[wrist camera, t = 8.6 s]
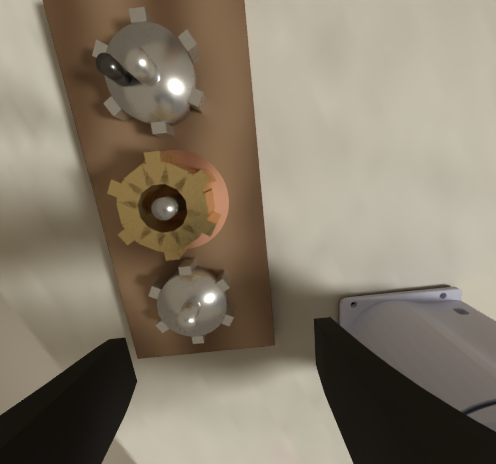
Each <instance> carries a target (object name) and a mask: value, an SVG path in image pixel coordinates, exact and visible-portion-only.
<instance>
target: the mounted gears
mask: <svg viewBox="0 0 496 464" xmlns="http://www.w3.org/2000/svg"><path fill="white" fill-rule="evenodd" d="M129 13H130V18H131V23H132V24H130V25H127V26H125V27H124V28H122V29H121V30H120V31H118V32H117V33H116V34H115V35H114V37H113V38H112V40H111V41H110V43H109V45H106V44H104V43H102V42H100V41H98V40H96V42H95V46H94V50H93V54H92V56H93V57H94V58H96V66H97V69H98V70H99V71H100V72H101V73H102V74H104V75H105V80H106V84H107V87H108V89H109V92H110V93H111V95H112V96H111V97H110V98H109V99H107V100H106V101H105V102H104V103H103V104H104V105H105V106H106V108H107V109H108V110H109V111H110V113H111V114H112V115H113V116H114V117H116V118H119V119H121V120H123V121H126V122H127V121H129V120H130V119H131V118H132V117H134V118H136V119H138V120H140V121H142V122H144V123H146V124H149V125H151V128H152V133H153V135H156V136H158V137H161V138H167V137H174V131H173V125H176V124H178V123H180V122H181V121H183V120H184V119H185V118H186V117H187V116H188V115H189V114H190V113H191V111H192V110H193V109H194V110H196V111H198V112H201V113H203V112H204V109H205V106H206V103H207V101H208V100H207V98H206V96H205V94H204V92H202V91H200V90H198V87H199V86H198V77H197V73H196V70H195V67H194V65H193V64H195V63H196V62H197V61H198V60H200V59H201V58H202V56H201V54H200V51H199V48H198V46H197V43H196V42H195V40H194V39H193V37H192V36H191V34H190V33H189V31H188V30H187V29H186V30H185V31H184V32H183V33H182V34H181V35H179V36H178V38H179V39H178V38H177V37H176V36H175V35H174V34H173V33H172V32H171V31H170V30H168V29H166V28H165V27H163V26H161V25H158V24H155V23H154V22H153V20H152V19H151V17H150V15H149V14H148V12H147V10H146V9H145V7H139V8H130V9H129ZM192 62H193V63H192ZM186 208H187V206H186V200H185V199H184V198H183V196H182V195H181V194H180V193H175V194H172V195H168V196H165V197H162V198H159V199H156V200H155V201H154V202H153V204H152V207H151V209H152V213H153V215H154V216H155V217H156V218H157V219H159V220H168V219H170V218H172V217H173V216H175V215H176V214H178V213H180V212H181V211H183V210H185V209H186ZM178 269H179V270H178V271H176V272H175V273H174V274H173V275H172V276H171V277H170V278H169V279H165V278H163V277H159V278H158V279H157V281H156V282H155V283H154V284H153V286H152V287H151V290H150V293H149V295H148V296H149V297H152V298H155V299H157V298H158V299H157V310H158V313H159V316H160V318H159V319H158V321H157V323H156V324H155V326H156V327H157V328H158V329H159V330H160V331H161V332H162V333H164V332H165V331H167V330H168V329H169V328H170V329H171V330H172V331H174V332H176V333H178V334H181V335H184V336H192V342H193V344H199V343H204V341H205V337H206V334H208V333H210V332H212V331H214V330H215V329H216V328H217V327H218V326H219V325H220V324H221V323H222V324H224V325H227V326H230V324H231V322H232V320H233V318H234V310H235V305H233V304H230V303H227V301H228V292H227V289H229V288H230V284H231V277H230V276H229V275H228V273H227V272H226V271H225V270H223V271H222V272H221V273H219V274H218V275H217V274H216V273H215V272H213V271H212V270H210V269H207V268H204V267H200V266H196V260H195V258H189V259H184V260H183V261H182V263H181V264H180V266H179V267H178ZM167 280H168V281H167Z"/></svg>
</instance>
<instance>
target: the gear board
mask: <svg viewBox="0 0 496 464" xmlns="http://www.w3.org/2000/svg"><path fill="white" fill-rule="evenodd" d="M43 4H44V7H45V11H46V15H47V19H48V23H49V26H50V30H51V34H52V38H53V41H54V45H55V49H56V53H57V56H58V60H59V64H60V68H61V71H62V75H63V79H64V83H65V87H66V90H67V94H68V98H69V102H70V105H71V109H72V113H73V117H74V120H75V124H76V128H77V132H78V135H79V139H80V143H81V147H82V151H83V154H84V158H85V162H86V166H87V169H88V173H89V177H90V181H91V184H92V188H93V192H94V196H95V199H96V203H97V207H98V211H99V215H100V218H101V222H102V226H103V230H104V233H105V237H106V241H107V245H108V248H109V252H110V256H111V260H112V263H113V267H114V271H115V275H116V279H117V282H118V286H119V290H120V294H121V297H122V301H123V305H124V309H125V312H126V316H127V320H128V324H129V327H130V331H131V335H132V339H133V343H134V346H135V350H136V354H137V358H138V359H140V358H150V357H160V356H170V355H180V354H191V353H201V352H211V351H221V350H231V349H241V348H252V347H262V346H272V345H275V339H274V328H273V317H272V306H271V294H270V283H269V272H268V261H267V250H266V238H265V227H264V216H263V205H262V193H261V182H260V171H259V160H258V149H257V137H256V126H255V115H254V104H253V92H252V81H251V70H250V59H249V48H248V36H247V25H246V14H245V3H244V0H43ZM139 7H145V9H146V10H147V12H148V14H149V15H150V17H151V19H152V20H153V22H154V23H155V24H158V25H161V26H163V27H165V28H166V29H168V30H170V31H171V32H172V33H173V34H174V35H175V36H176V37H177V38H178V36H179V35H181V34H182V33H183V32H184V31H185V30H186V29H187V30H188V31H189V33H190V34H191V36H192V37H193V39H194V40H195V42H196V43H197V46H198V48H199V51H200V54H201V56H202V58H201V59H200V60H198V61H197V62H196V63H195V64H193V65H194V67H195V70H196V73H197V77H198V86H199V87H198V90H200V91H202V92H204V94H205V96H206V98H207V100H208V101H207V103H206V106H205V109H204V112H203V113H201V112H198V111H196V110H194V109H193V110H192V111H191V113H190V114H189V115H188V116H187V117H186V118H185V119H184V120H183V121H181V122H180V123H178V124H176V125H173V131H174V137H167V138H161V137H158V136H156V135H153V133H152V128H151V125H149V124H146V123H144V122H142V121H140V120H138V119H136V118H134V117H132V118H131V119H130V120H129V121H127V122H126V121H123V120H121V119H119V118H116V117H114V116H113V115H112V114H111V113H110V111H109V110H108V109H107V108H106V106H105V105H104V104H103V103H104V102H105V101H106V100H107V99H109V98H110V97H111V96H112V95H111V93H110V92H109V89H108V87H107V84H106V80H105V75H104V74H102V73H101V72H100V71H99V70H98V69H97V66H96V58H94V57H93V56H92V54H93V50H94V46H95V42H96V40H98V41H100V42H102V43H104V44H106V45H109V43H110V41H111V40H112V38H113V37H114V35H115V34H116V33H117V32H118V31H120V30H121V29H122V28H124V27H125V26H127V25H130V24H132V23H131V18H130V13H129V9H130V8H139ZM178 39H179V38H178ZM192 63H193V62H192ZM154 151H162V152H166V153H170V154H173V155H176V158H177V163H178V164H183V165H185V166H188V167H190V168H192V169H194V170H196V171H200V170H210V172H211V173H212V175H213V176H214V177H215V179H216V180H217V181H216V182H214V183H213V184H212V185H210V186H211V187H212V188H211V189H213V195H214V202H215V210H214V211H215V212H217V213H219V214H221V217H220V219H219V222H218V224H217V226H216V228H215V230H214V232H213V234H212V236H211V237H210V236H208V235H205V234H203V233H202V234H201V236H200V237H199V238H198V239H196V240H195V241H194V242H192V243H191V245H190V246H189V248H188V249H187V250H186V252H185V253H184V254H183V256H182V257H181V258H180V259H178V260H168V261H166V259H165V254H164V252H160V251H159V252H158V251H156V250H153V249H151V248H148V247H146V246H143V245H141V244H139V242H138V243H137V242H136V241H134V242H132V243H131V244H129V245H128V246H127V244H126V243H125V242H124V241H123V240H122V239H121V238H120V237H119V236H118V235H117V234H119V233H120V232H121V231H122V230H124V229H125V228H124V227H123V225H124V224H121V220H120V216H119V212H118V208H117V204H116V203H117V201H116V200H117V197H114V196H112V195H110V194H107V192H108V189H109V185H110V182H111V179H124V178H125V177H126V176H128V175H129V174H130V173H131V172H133V171H134V170H135V169H136V168H137V167H139V166H140V165H142V164H146V162H145V157H144V153H145V152H154ZM175 193H180V192H179V191H178V190H177V189H175V188H173V187H170V186H168V185H166V186H165V187H163V188H162V189H161V191H160V194H159V197H158V199H159V198H162V197H165V196H168V195H172V194H175ZM187 213H188V212H187V208H186V209H185V210H183V211H181V212H180V213H178V214H176V215H175V216H173V217H172V218H170V219H171V220H173V221H176V222H179V221H185V218H186V216H187ZM189 258H195V260H196V266H200V267H204V268H207V269H210V270H212V271H213V272H215V273H216V274H217V275H218V274H219V273H221V272H222V271H223V270H225V271H226V272H227V273H228V275H229V276H230V277H231V284H230V288H229V289H227V292H228V301H227V303H230V304H233V305H235V310H234V318H233V320H232V322H231V324H230V326H227V325H224V324H222V323H221V324H220V325H219V326H218V327H217V328H216V329H215V330H214V331H212V332H210V333H208V334H206V337H205V341H204V343H199V344H193V342H192V336H184V335H181V334H178V333H176V332H174V331H172V330H171V329H170V328H169V329H168V330H167V331H165V332H164V333H162V332H161V331H160V330H159V329H158V328H157V327H156V326H155V324H156V323H157V321H158V319H159V318H160V316H159V313H158V310H157V299H158V298H157V299H155V298H152V297H149V296H148V295H149V293H150V290H151V287H152V286H153V284H154V283H155V282H156V281H157V279H158V278H159V277H163V278H165V279H169V278H170V277H171V276H172V275H173V274H174V273H175V272H176V271H178V270H179V269H178V267H179V266H180V264H181V263H182V261H183V260H184V259H189ZM167 281H168V280H167Z"/></svg>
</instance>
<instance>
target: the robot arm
mask: <svg viewBox="0 0 496 464" xmlns="http://www.w3.org/2000/svg"><path fill="white" fill-rule="evenodd" d="M441 294H442V295H441ZM440 295H441V296H440ZM461 296H462V291H461V290H460V289H458V288H456V287H445V288H435V289H425V290H415V291H405V292H395V293H385V294H376V295H366V296H356V297H346V298H343V299H341V301H340V303H339V310H340V325H339V324H338V323H337V322H335V321H334V320H333V319H332V318H331V317H328V318H318V319H314V330H315V356H316V366H317V370H318V373H319V377H320V380H321V383H322V386H323V390H324V393H325V396H326V398H327V400H328V403H329V405H330V408H331V410H332V413H333V415H334V418H335V420H336V422H337V425H338V427H339V430H340V432H341V434H342V437H343V439H344V442H345V444H346V447H347V449H348V451H349V454H350V456H351V459H352V461H353V463H354V464H496V321H494V320H493V319H491V318H489V317H488V316H486V315H484V314H483V313H481V312H479V311H478V310H476V309H474V308H473V307H471V306H469V305H467V304H466V303H464V302H462V301H461ZM352 302H355V303H354V304H353V305H351V303H352ZM136 383H137V379H136V375H135V371H134V368H133V364H132V361H131V357H130V353H129V350H128V346H127V342H126V339H125V338H117V339H109V340H108V341H106V342H104V343H103V344H101V345H100V346H98V347H97V348H95V349H94V350H92V351H91V352H90V353H88V354H87V355H85V356H84V357H83V358H81V359H80V360H78V361H77V362H76V363H74V364H73V365H72V366H70V367H69V368H67V369H66V370H65V371H63V372H62V373H60V374H59V375H58V376H56V377H55V378H54V379H52V380H51V381H50V382H48V383H47V384H45V385H44V386H42V387H41V388H40V389H38V390H37V391H35V392H34V393H32V394H31V395H29V396H28V397H26V398H25V399H24V400H22V401H21V402H19V403H18V404H16V405H15V406H14V407H12V408H10V409H9V410H7V411H6V412H5V413H3V414H2V415H0V464H101V463H102V461H103V459H104V457H105V455H106V453H107V451H108V449H109V447H110V445H111V443H112V441H113V439H114V437H115V435H116V433H117V430H118V428H119V426H120V424H121V422H122V420H123V418H124V416H125V414H126V411H127V409H128V406H129V403H130V401H131V398H132V395H133V392H134V389H135V386H136Z"/></svg>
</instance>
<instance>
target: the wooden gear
mask: <svg viewBox="0 0 496 464" xmlns="http://www.w3.org/2000/svg"><path fill="white" fill-rule="evenodd" d="M144 157H145V162H146V164H142V165H140V166H139V167H137V168H136V169H135V170H134V171H133V172H131V173H130V174H129V175H128V176H126V177H125V178H124V179H111V182H110V185H109V189H108V192H107V194H110V195H112V196H114V197H117V200H116V201H117V203H116V204H117V208H118V212H119V216H120V220H121V224H124V225H123V227H124V228H125V229H124V230H122V231H121V232H120V233H119V234H117V235H118V236H119V237H120V238H121V239H122V240H123V241H124V242H125V243H126V244H127V246H128V245H129V244H131V243H132V242H134V241H136V242H137V243H138V242H139V244H141V245H143V246H146V247H148V248H151V249H153V250H156V251H158V252H159V251H160V252H164V254H165V259H166V261H168V260H178V259H180V258H181V257H182V256H183V254H184V253H185V252H186V250H187V249H188V248H189V246H190V245H191V243H192V242H194V241H195V240H196V239H198V238H199V237H200V236H201V234H202V233H203V234H205V235H208V236H210V237H211V236H212V234H213V232H214V230H215V228H216V226H217V224H218V222H219V219H220V217H221V214H219V213H217V212H215V211H214V210H215V202H214V195H213V189H211V188H212V187H211V186H210V185H212V184H213V183H214V182H216V181H217V180H216V179H215V177H214V176H213V175H212V173H211V172H210V170H200V171H196V170H194V169H192V168H190V167H188V166H185V165H183V164H178V163H177V158H176V155H173V154H170V153H166V152H162V151H154V152H145V153H144ZM166 185H168V186H170V187H173V188H175V189H177V190H178V191H179V192H180V194H181V195H182V196H183V198H184V199H185V200H186V206H187V212H188V213H187V216H186V218H185V221H179V222H176V221H173V220H171V219H168V220H159V219H157V218H156V217H155V216H154V215H153V213H152V209H151V207H152V204H153V202H154V201H155V200H156V199H158V197H159V194H160V191H161V189H162V188H163V187H165V186H166Z"/></svg>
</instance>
